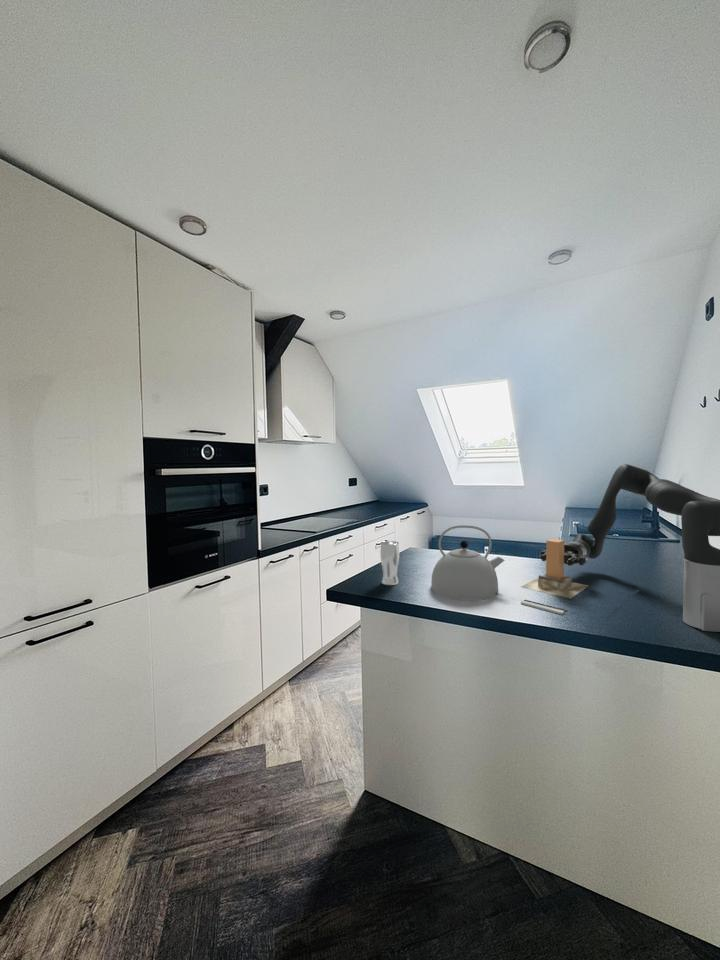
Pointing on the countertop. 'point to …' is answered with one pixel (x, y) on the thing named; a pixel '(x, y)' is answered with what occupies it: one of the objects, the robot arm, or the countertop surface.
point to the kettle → (465, 572)
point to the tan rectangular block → (555, 558)
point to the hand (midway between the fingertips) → (555, 560)
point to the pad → (544, 607)
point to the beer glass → (389, 562)
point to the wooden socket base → (556, 586)
